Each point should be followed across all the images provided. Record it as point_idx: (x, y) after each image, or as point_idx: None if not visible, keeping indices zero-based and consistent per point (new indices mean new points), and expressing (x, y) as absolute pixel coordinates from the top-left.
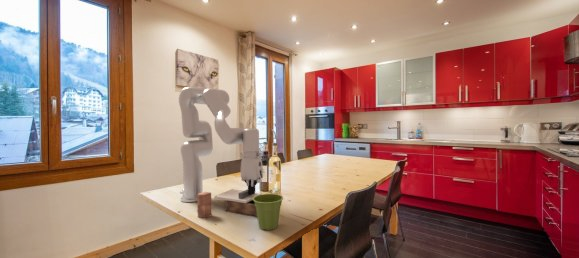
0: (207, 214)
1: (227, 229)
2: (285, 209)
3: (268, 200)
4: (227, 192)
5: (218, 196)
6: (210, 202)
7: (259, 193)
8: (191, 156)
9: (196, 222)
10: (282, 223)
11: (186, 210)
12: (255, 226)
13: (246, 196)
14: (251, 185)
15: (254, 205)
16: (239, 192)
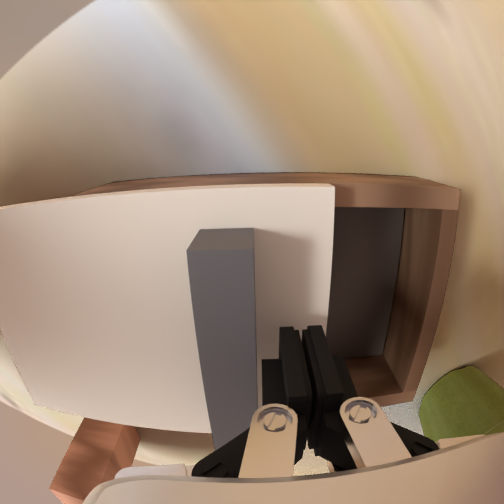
0: (132, 437)
1: (308, 467)
2: (484, 178)
3: (492, 433)
4: (12, 314)
5: (56, 407)
6: (110, 464)
7: (318, 211)
8: None
9: (151, 463)
10: (494, 347)
11: (10, 387)
12: (402, 418)
13: (257, 377)
14: (331, 457)
15: (381, 406)
16: (78, 275)
